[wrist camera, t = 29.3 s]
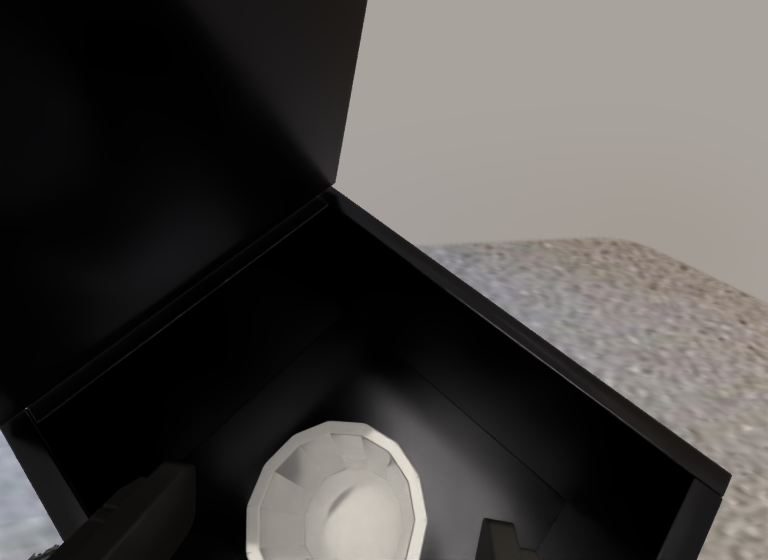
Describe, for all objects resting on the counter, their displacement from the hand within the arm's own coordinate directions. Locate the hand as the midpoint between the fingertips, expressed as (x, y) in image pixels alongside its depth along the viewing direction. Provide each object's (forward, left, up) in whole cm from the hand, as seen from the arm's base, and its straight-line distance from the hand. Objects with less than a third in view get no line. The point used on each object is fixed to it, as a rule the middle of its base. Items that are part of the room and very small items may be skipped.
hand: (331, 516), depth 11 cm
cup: (0, 0, -9) cm, 9 cm away
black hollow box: (+1, -2, -10) cm, 10 cm away
